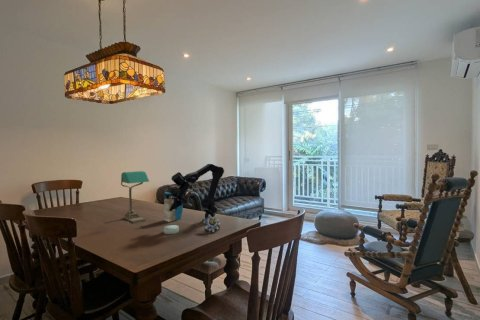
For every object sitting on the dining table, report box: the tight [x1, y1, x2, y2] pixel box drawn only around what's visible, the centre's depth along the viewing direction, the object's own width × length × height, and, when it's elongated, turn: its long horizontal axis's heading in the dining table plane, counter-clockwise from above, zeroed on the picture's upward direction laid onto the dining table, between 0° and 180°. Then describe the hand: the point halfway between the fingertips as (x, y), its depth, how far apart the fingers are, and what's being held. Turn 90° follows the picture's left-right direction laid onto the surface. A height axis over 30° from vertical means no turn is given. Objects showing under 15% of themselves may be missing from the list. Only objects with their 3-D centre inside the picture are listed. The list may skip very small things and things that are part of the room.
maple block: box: [163, 198, 176, 223], centre depth 167 cm, size 5×5×13 cm
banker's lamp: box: [120, 170, 150, 224], centre depth 196 cm, size 16×21×35 cm
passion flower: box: [201, 215, 222, 233], centre depth 168 cm, size 11×11×12 cm
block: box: [164, 191, 184, 221], centre depth 195 cm, size 12×5×20 cm, turn 124°
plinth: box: [163, 224, 180, 235], centre depth 166 cm, size 9×9×3 cm
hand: (167, 210), depth 166 cm, fingers closed on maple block, 5 cm apart
